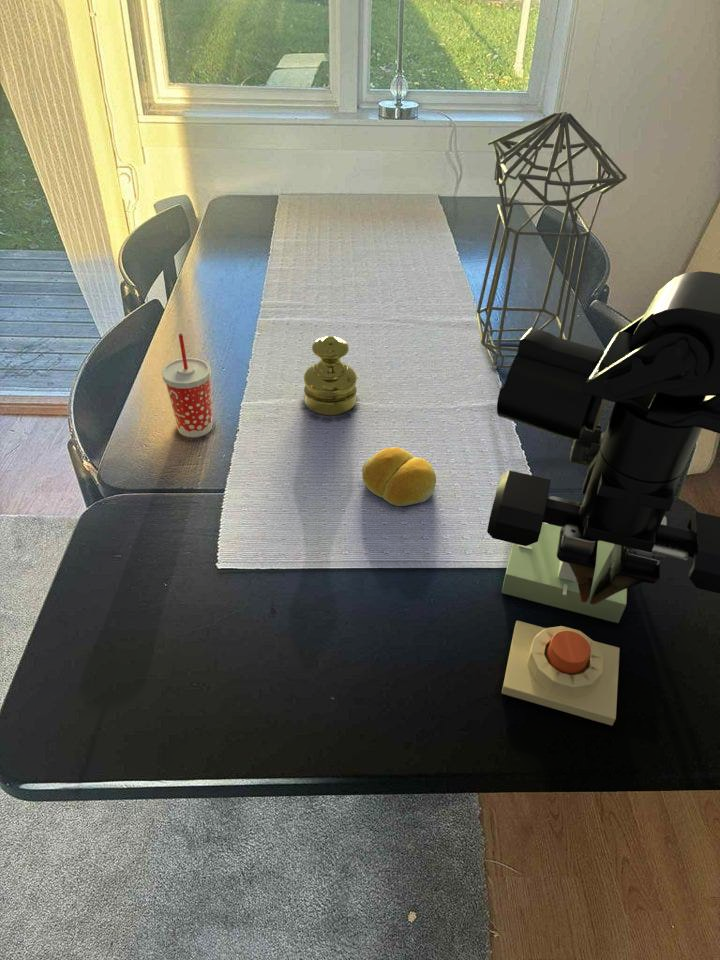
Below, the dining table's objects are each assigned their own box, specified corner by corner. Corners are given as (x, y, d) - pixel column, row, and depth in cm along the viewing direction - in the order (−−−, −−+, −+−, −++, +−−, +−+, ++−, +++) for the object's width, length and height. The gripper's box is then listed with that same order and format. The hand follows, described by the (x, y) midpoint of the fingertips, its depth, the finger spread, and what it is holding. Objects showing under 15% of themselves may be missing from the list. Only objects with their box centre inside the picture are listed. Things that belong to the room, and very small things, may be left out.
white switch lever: (575, 582, 71) (586, 550, 68) (557, 577, 72) (567, 545, 69) (580, 539, 76) (591, 507, 73) (563, 535, 76) (573, 503, 73)
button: (587, 647, 66) (592, 636, 65) (584, 679, 63) (589, 667, 62) (549, 637, 66) (553, 625, 65) (544, 667, 64) (548, 656, 63)
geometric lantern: (554, 332, 117) (609, 99, 94) (575, 385, 105) (644, 132, 82) (460, 329, 116) (492, 95, 94) (470, 381, 105) (509, 127, 82)
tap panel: (622, 556, 78) (630, 536, 76) (617, 630, 71) (626, 610, 69) (515, 530, 81) (520, 510, 79) (499, 599, 73) (504, 579, 71)
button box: (616, 654, 68) (625, 636, 66) (612, 726, 63) (621, 708, 61) (514, 627, 70) (519, 608, 69) (501, 693, 65) (506, 675, 63)
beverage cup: (170, 416, 96) (153, 324, 87) (216, 411, 97) (204, 320, 88) (173, 443, 91) (155, 349, 82) (220, 437, 93) (208, 344, 83)
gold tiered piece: (309, 419, 96) (308, 356, 90) (300, 389, 102) (298, 328, 95) (361, 413, 98) (363, 350, 91) (349, 384, 103) (351, 323, 97)
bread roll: (410, 518, 82) (413, 493, 79) (351, 485, 86) (352, 460, 83) (449, 483, 87) (453, 458, 84) (392, 453, 91) (393, 429, 88)
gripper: (771, 420, 53) (700, 560, 63) (525, 373, 57) (495, 511, 67) (792, 516, 45) (706, 659, 55) (502, 453, 49) (472, 597, 59)
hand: (588, 599), depth 59 cm, fingers closed
